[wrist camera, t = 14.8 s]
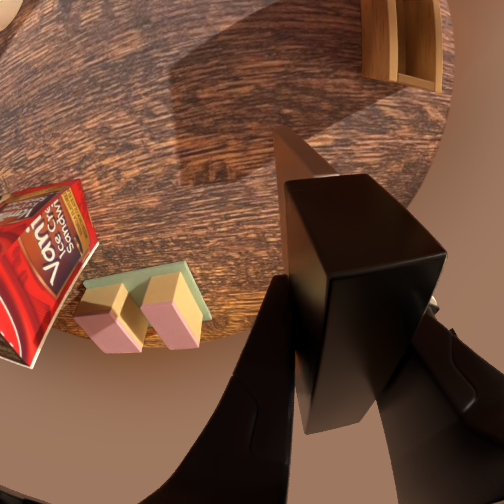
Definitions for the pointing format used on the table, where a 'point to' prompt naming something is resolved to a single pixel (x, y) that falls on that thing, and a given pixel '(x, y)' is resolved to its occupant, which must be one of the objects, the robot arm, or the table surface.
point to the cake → (112, 319)
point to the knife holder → (402, 42)
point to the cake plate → (140, 279)
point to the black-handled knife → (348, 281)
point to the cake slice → (173, 311)
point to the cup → (8, 11)
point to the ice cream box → (39, 262)
